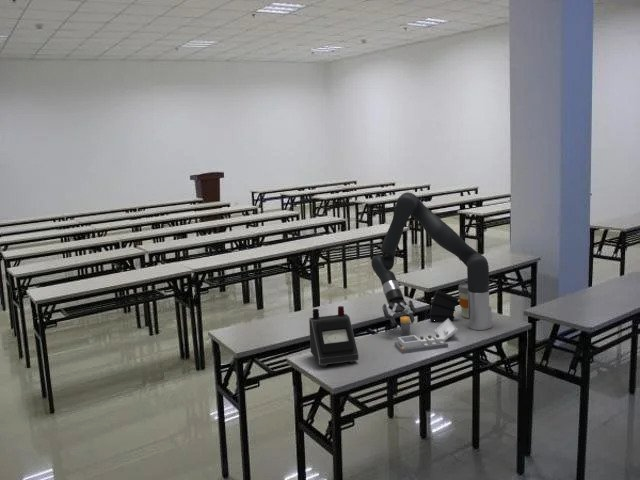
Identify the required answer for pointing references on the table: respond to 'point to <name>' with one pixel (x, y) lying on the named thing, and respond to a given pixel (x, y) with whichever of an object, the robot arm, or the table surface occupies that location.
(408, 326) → the lockout plug
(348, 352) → the voltmeter
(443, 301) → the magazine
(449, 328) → the light switch
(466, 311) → the reusable coffee cup
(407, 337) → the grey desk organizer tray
